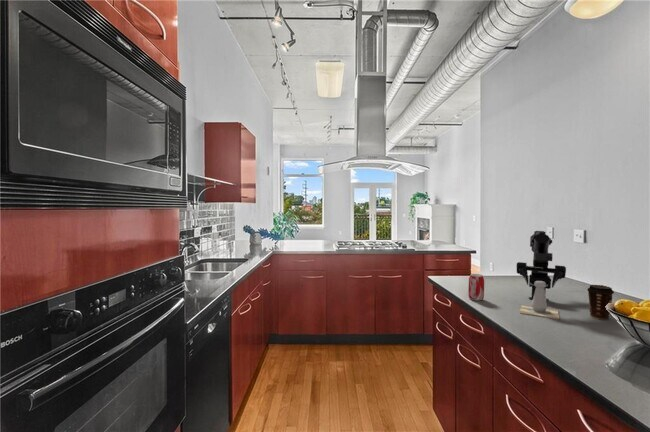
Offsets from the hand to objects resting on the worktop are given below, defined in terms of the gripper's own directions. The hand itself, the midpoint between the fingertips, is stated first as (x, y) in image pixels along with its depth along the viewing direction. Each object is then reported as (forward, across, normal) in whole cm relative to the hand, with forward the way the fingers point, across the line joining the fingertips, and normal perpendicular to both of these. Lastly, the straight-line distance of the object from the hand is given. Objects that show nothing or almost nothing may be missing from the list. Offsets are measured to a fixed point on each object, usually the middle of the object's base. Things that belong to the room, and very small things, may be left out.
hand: (539, 285), depth 153 cm
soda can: (+4, -26, +12) cm, 29 cm away
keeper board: (+9, 0, +7) cm, 11 cm away
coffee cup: (+5, +22, +11) cm, 25 cm away
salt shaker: (+9, 0, +7) cm, 11 cm away
